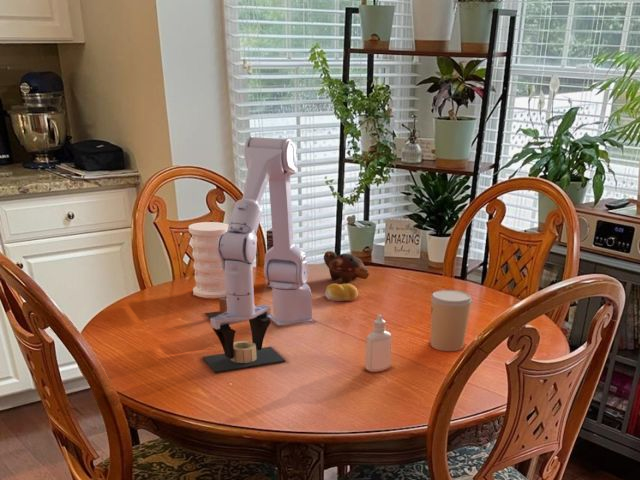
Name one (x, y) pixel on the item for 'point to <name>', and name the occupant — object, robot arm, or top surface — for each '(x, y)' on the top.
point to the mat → (226, 364)
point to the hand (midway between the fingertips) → (243, 353)
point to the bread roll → (341, 292)
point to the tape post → (222, 308)
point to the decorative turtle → (345, 266)
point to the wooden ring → (244, 352)
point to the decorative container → (208, 259)
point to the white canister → (449, 319)
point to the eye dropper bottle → (378, 347)
